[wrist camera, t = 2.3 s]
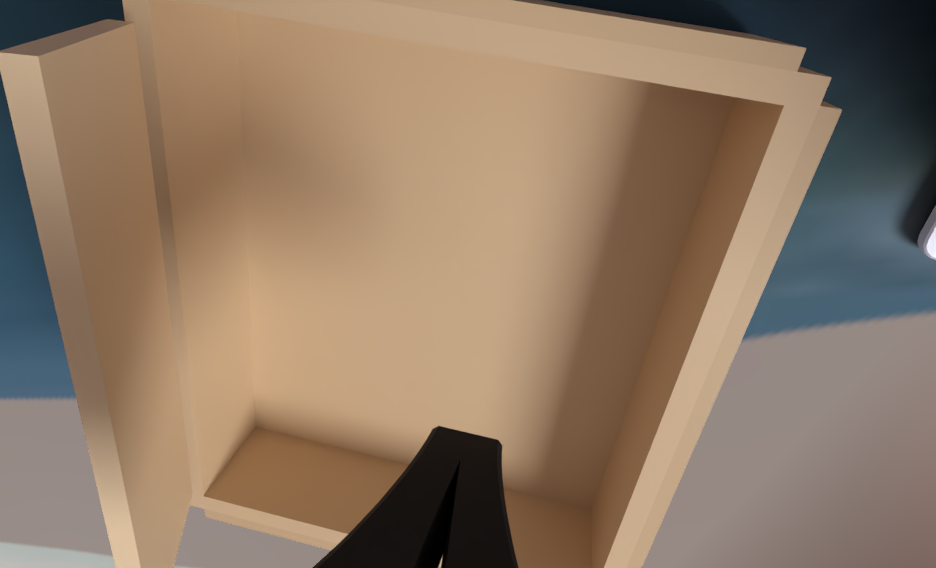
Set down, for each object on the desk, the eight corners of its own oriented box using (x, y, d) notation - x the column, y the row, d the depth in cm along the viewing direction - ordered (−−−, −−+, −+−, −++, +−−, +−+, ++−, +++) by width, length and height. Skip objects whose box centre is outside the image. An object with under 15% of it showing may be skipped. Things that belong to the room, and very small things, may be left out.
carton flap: (38, 56, 8) (-5, 52, 8) (155, 638, 14) (132, 640, 14) (133, 22, 12) (106, 19, 12) (192, 494, 18) (175, 495, 18)
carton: (793, 40, 14) (864, 57, 10) (611, 522, 22) (616, 625, 18) (224, -52, 15) (113, -65, 11) (250, 432, 23) (188, 512, 19)
